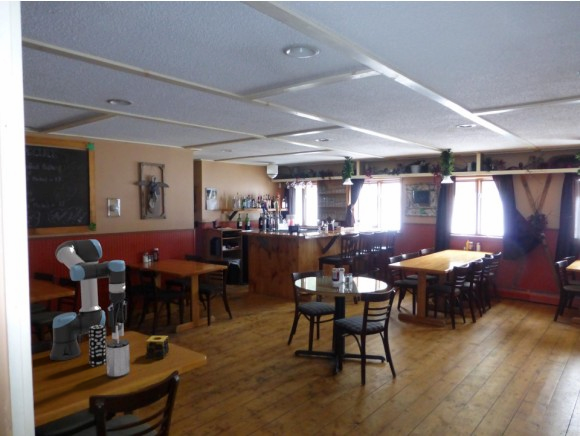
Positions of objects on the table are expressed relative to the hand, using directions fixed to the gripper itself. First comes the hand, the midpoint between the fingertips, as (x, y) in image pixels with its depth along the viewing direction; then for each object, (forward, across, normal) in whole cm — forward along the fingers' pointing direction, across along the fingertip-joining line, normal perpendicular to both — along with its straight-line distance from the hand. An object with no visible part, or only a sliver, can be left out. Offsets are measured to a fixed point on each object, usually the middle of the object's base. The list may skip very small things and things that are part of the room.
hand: (117, 337), depth 213 cm
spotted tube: (+19, +9, +19) cm, 28 cm away
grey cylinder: (+19, +1, 0) cm, 19 cm away
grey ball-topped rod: (+17, 0, 0) cm, 17 cm away
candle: (+19, +27, -6) cm, 34 cm away
